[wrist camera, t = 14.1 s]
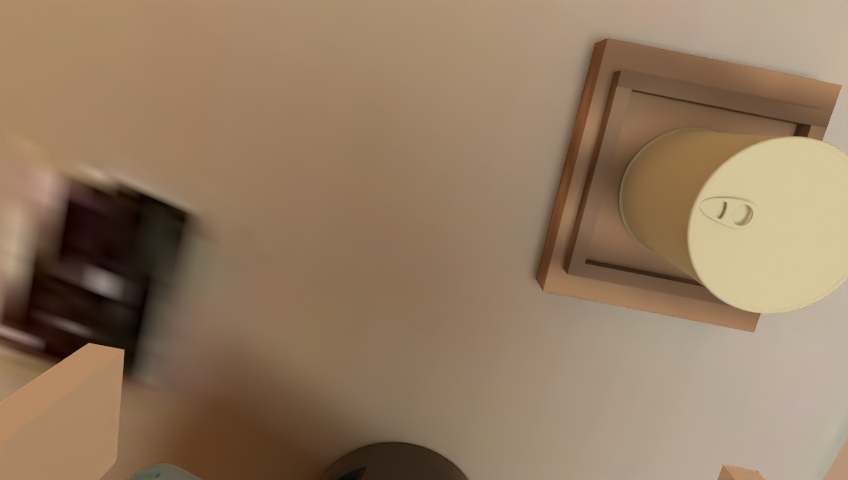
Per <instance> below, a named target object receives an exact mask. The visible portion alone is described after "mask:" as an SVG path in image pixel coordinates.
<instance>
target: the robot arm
mask: <svg viewBox="0 0 848 480" xmlns="http://www.w3.org/2000/svg"><path fill="white" fill-rule="evenodd" d="M123 362H124V350H122V349H117V348H112V347H107V346H101V345H96V344H91V343H88V344H87V345H85V346H84V347H82V348H81V349H79V350H78V351H76V352H75V353H73V354H72V355H70V356H69V357H67V358H66V359H64V360H63V361H61V362H60V363H58V364H57V365H55V366H53V367H52V368H50V369H49V370H47V371H46V372H44V373H43V374H41V375H40V376H38V377H37V378H35V379H34V380H32V381H31V382H29V383H28V384H26V385H25V386H23V387H22V388H20V389H19V390H17V391H16V392H14V393H13V394H11V395H10V396H8V397H7V398H5V399H4V400H2V401H1V402H0V480H99V479H100V478H101V477H102V476H103V475H104V474H105V473H106V472H107V471H108V470H109V469H110V468H111V467H112V465H113V464H114V463H115V462H116V460H117V446H118V432H119V418H120V404H121V390H122V376H123ZM127 480H203V479H201V478H199V477H197V476H195V475H194V474H192V473H190V472H188V471H186V470H184V469H182V468H180V467H179V466H176V465H173V464H169V463H159V464H154V465H151V466H148V467H146V468H144V469H142V470H140V471H138V472H137V473H135V474H134V475H132V476H131V477H130V478H129V479H127ZM321 480H467V478H466V477H465V476H464V474H463V473H462V472H461V471H460V470H459V469H458V468H457V467H456V466H455V465H453V464H452V463H451V462H449V461H448V460H447V459H445V458H444V457H442V456H440V455H438V454H436V453H434V452H432V451H430V450H427V449H425V448H421V447H418V446H414V445H408V444H400V443H384V444H377V445H371V446H367V447H364V448H361V449H358V450H356V451H353V452H351V453H349V454H348V455H346V456H344V457H343V458H341V459H340V460H338V461H337V462H336V463H335V464H333V465H332V466H331V467H330V468H329V469H328V470H327V472H326V473H325V474H324V475H323V477H322V478H321ZM718 480H765V479H764V478H763V477H762V476H761V474H760V473H759V472H758V471H754V470H749V469H744V468H739V467H733V466H728V465H723V466H722V469H721V472H720V475H719V477H718Z"/></svg>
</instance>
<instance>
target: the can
mask: <svg viewBox="0 0 848 480" xmlns="http://www.w3.org/2000/svg"><path fill="white" fill-rule="evenodd" d="M619 210H620V214H621V218H622V221H623V223H624V225H625V227H626V229H627V231H628V232H629V234H630V235H631V236H632V238H633V239H634V240H635V241H636V242H637V243H638V244H639V245H641V246H642V247H643V248H645V249H646V250H648V251H650V252H652V253H654V254H657V255H659V256H661V257H663V258H664V259H666V260H667V261H669V262H670V263H672V264H673V265H675V266H676V267H678V268H679V269H680V270H682V271H683V272H685V273H686V274H688V275H689V276H690V277H692V278H693V279H695V280H696V281H697V282H699V283H700V284H702V285H703V286H704V287H706V288H707V289H708V290H709V291H710V292H711V293H712V294H713V295H714V296H716V297H717V298H719V299H720V300H721V301H723V302H725V303H727V304H729V305H731V306H733V307H736V308H738V309H741V310H745V311H749V312H755V313H781V312H788V311H792V310H797V309H800V308H803V307H805V306H808V305H810V304H813V303H815V302H817V301H818V300H820V299H822V298H824V297H825V296H827V295H828V294H830V293H831V292H833V291H834V290H835V289H836V288H837V287H839V286H840V285H841V284H842V283H843V282H844V281H845V280H846V279H847V278H848V155H846V154H845V153H844V152H842V151H841V150H839V149H838V148H836V147H834V146H832V145H830V144H828V143H826V142H823V141H820V140H816V139H812V138H807V137H798V136H786V137H770V136H754V135H743V134H731V133H719V132H715V131H712V130H708V129H703V128H683V129H677V130H673V131H670V132H667V133H665V134H663V135H660V136H658V137H657V138H655V139H653V140H652V141H650V142H649V143H647V144H646V145H645V146H644V147H643V148H642V149H641V150H640V151H639V152H638V153H637V154H636V155H635V156H634V157H633V159H632V160H631V162H630V163H629V165H628V166H627V168H626V170H625V173H624V175H623V178H622V181H621V184H620V190H619Z"/></svg>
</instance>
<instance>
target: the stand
mask: <svg viewBox="0 0 848 480" xmlns="http://www.w3.org/2000/svg"><path fill="white" fill-rule="evenodd" d="M841 87H842V85H838V84H833V83H828V82H823V81H818V80H813V79H808V78H803V77H798V76H793V75H788V74H783V73H778V72H773V71H768V70H763V69H758V68H753V67H748V66H743V65H738V64H733V63H728V62H723V61H718V60H713V59H708V58H703V57H698V56H694V55H689V54H684V53H679V52H674V51H669V50H664V49H659V48H654V47H649V46H644V45H639V44H634V43H629V42H624V41H619V40H614V39H609V38H607V39H605V40H602V41H600V42H598V43H596V44H595V48H594V52H593V56H592V60H591V64H590V68H589V72H588V76H587V79H586V83H585V87H584V91H583V95H582V99H581V103H580V107H579V111H578V115H577V119H576V123H575V127H574V131H573V135H572V139H571V143H570V147H569V151H568V155H567V159H566V163H565V167H564V171H563V175H562V179H561V183H560V187H559V191H558V195H557V199H556V203H555V207H554V211H553V215H552V219H551V223H550V227H549V231H548V235H547V239H546V243H545V246H544V250H543V254H542V258H541V262H540V266H539V270H538V274H537V278H536V280H537V281H538V283H539V285H540V287H541V289H542V290H543V291H544V292H549V293H554V294H559V295H565V296H570V297H575V298H580V299H585V300H590V301H595V302H601V303H606V304H611V305H616V306H621V307H626V308H631V309H637V310H642V311H647V312H652V313H657V314H662V315H667V316H672V317H678V318H683V319H688V320H693V321H698V322H703V323H708V324H714V325H719V326H724V327H729V328H734V329H739V330H744V331H750V332H754V331H755V328H756V325H757V322H758V320H759V317H760V314H761V313H755V312H749V311H745V310H741V309H738V308H736V307H733V306H731V305H729V304H727V303H725V302H723V301H721V300H720V299H719V298H717V297H716V296H714V295H713V294H712V293H711V292H710V291H709V290H708V289H707V288H706V287H704V286H703V285H702V284H700V283H699V282H697V281H696V280H695V279H693V278H692V277H690V276H689V275H688V274H686V273H685V272H683V271H682V270H680V269H679V268H678V267H676V266H675V265H673V264H672V263H670V262H669V261H667V260H666V259H664V258H663V257H661V256H659V255H657V254H654V253H652V252H650V251H648V250H646V249H645V248H643V247H642V246H641V245H639V244H638V243H637V242H636V241H635V240H634V239H633V238H632V236H631V235H630V234H629V232H628V231H627V229H626V227H625V225H624V223H623V221H622V218H621V214H620V210H619V190H620V184H621V181H622V178H623V175H624V173H625V170H626V168H627V166H628V165H629V163H630V162H631V160H632V159H633V157H634V156H635V155H636V154H637V153H638V152H639V151H640V150H641V149H642V148H643V147H644V146H645V145H646V144H647V143H649V142H650V141H652V140H653V139H655V138H657V137H658V136H660V135H663V134H665V133H667V132H670V131H673V130H677V129H683V128H703V129H708V130H712V131H715V132H719V133H731V134H743V135H754V136H770V137H786V136H798V137H807V138H812V139H816V140H820V141H822V140H823V137H824V134H825V131H826V129H827V126H828V123H829V120H830V117H831V115H832V112H833V109H834V106H835V103H836V101H837V98H838V95H839V92H840V89H841Z"/></svg>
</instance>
